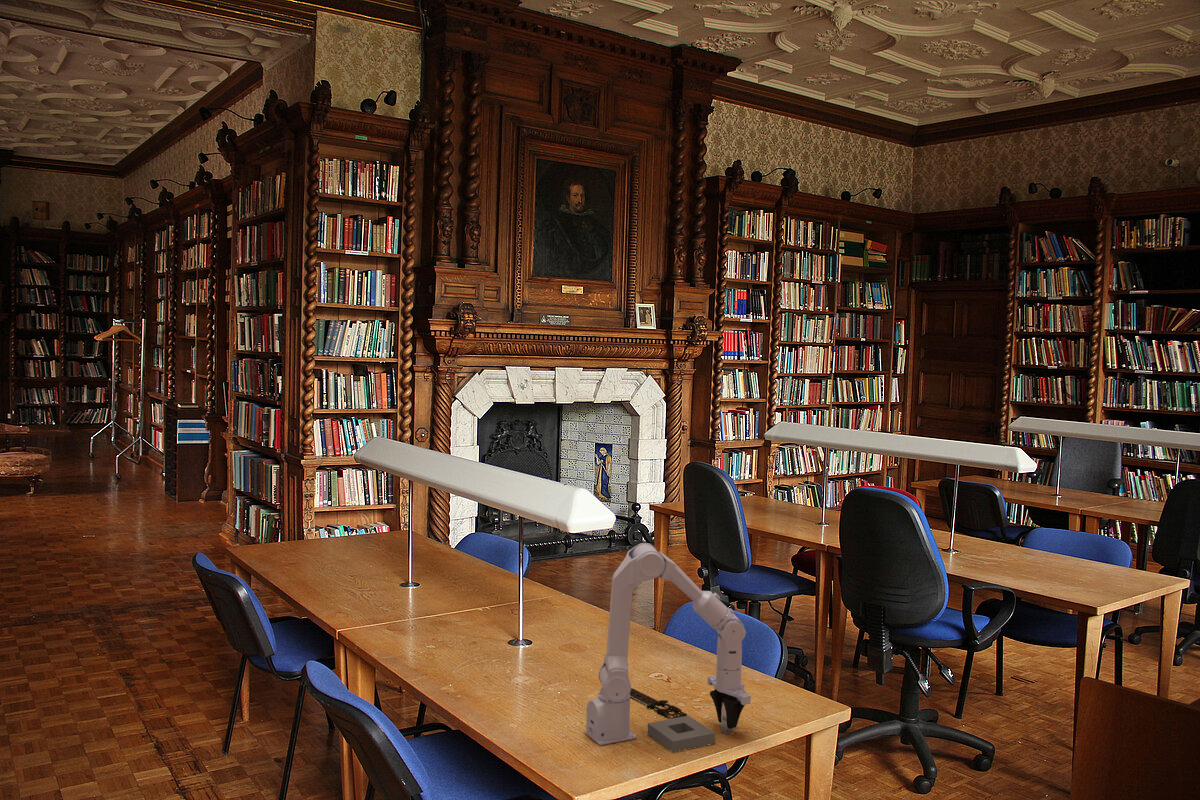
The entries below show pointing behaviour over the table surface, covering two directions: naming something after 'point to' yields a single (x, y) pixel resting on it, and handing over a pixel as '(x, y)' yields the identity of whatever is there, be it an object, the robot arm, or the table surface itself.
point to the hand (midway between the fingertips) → (727, 724)
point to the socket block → (681, 733)
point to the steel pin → (725, 721)
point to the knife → (655, 702)
